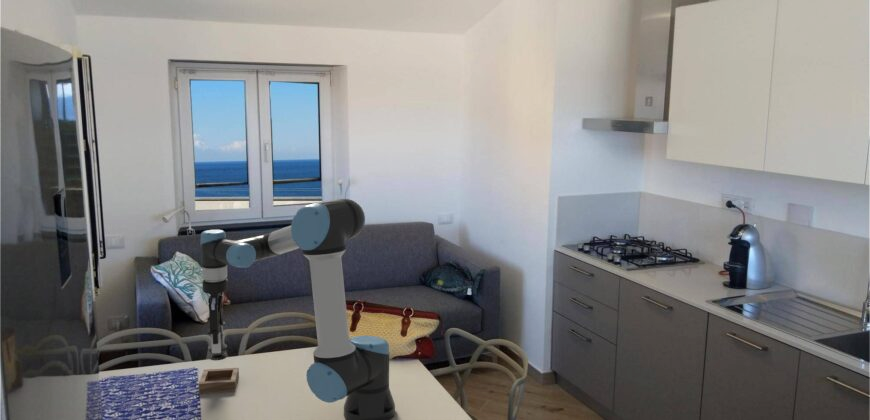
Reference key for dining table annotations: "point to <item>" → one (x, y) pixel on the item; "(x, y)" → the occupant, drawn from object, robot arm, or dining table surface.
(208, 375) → the walnut holder
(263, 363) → the dining table surface
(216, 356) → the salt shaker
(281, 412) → the dining table surface
